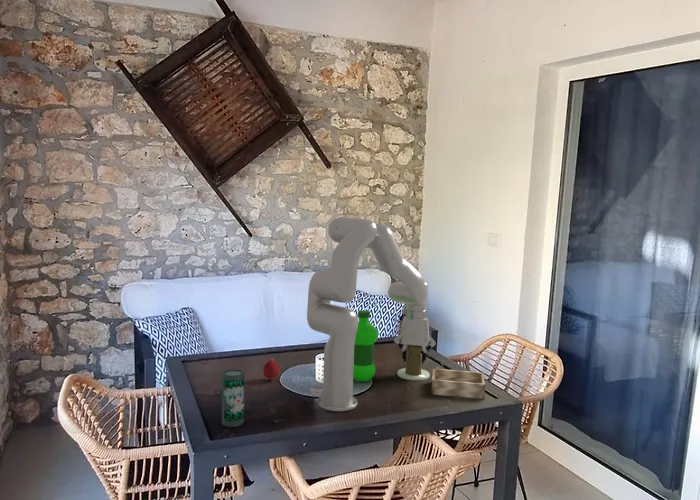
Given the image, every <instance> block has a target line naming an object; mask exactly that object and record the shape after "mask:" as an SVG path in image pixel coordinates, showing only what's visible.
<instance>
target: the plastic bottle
mask: <svg viewBox="0 0 700 500" xmlns="http://www.w3.org/2000/svg"><path fill="white" fill-rule="evenodd" d="M357 317H358V329H357V333H356V338H355V345H354V371H353V380H354V379H355V380H358V381H367V382H369V380H371V379H372V378H373V376H375V374H376V369H377V368H376V365H375V362H374V355H375V354H374V352H375V350H374V349H375V343H376V342H377V340H378V338H379V331H378V329H377V328H376V327H375V326H374V325H373V324H372V323H371V322H370V321H369V318H371V311H369V310H366V309H365V310H364V309H362V310H358V311H357ZM355 380H354V381H355ZM358 381H357V382H358Z"/></svg>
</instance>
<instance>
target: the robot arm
mask: <svg viewBox="0 0 700 500" xmlns="http://www.w3.org/2000/svg"><path fill="white" fill-rule="evenodd" d="M327 230H328V236H329V238H330V239H331V240H332V241H333V242H334V243H337V245H336V246H335V248H334V250H333V251H332V254H331V258H330V259H331V261H330V267H329V268H330V269H326V268H325V269H319V270H317V271H316V272H314V273H313V275H312V276H311V278H310V281H309V284H308V290H307V291H308V294H307V307H306V308H307V310H306V320H307V325H308V326H309V328H310V329H311V330H313V331H314V332H319V333H321V334H325V335H328V336H329V339H328V340H327V342H326V344H325V345H324V350H323V374H322V375H323V376H322V377H323V378H322V382H323V383H322V388H319V389H317V388H310V389H309V395H311V397H312V398H318V399H317V405H318V406H319V407H320V408H322V409H323V410H326V411H330V412H347V411H348V412H349V411H351V410H354V409H355V408H357V406H358V399H357V398H356V397H355V396H353V395H354V393H353V392H354V378H353V371H354V345H355V338H356V333H357V329H358V322H359V317H358V314H357V313H356V312H355V311H354V310H352V309H351V308H348V307H345V306H341V305H337V304H331V302H337V303H343V304H347V303H348V304H349V303H351V302H352V301H353V300H354V299H355V296H356V291H357V283H358V282H357V281H358V269H359V268H358V267H359V261H360V258H361V255H362V254H363V252H364V250H365V249H367V248H368V249H370V250H371V251H372V253H373V255H374V257H375V260H376V261H377V264H378V266H379V268H380V270H381V271H383V273H386V274H387V275H389V276H391V277H392V278H394V279H396V280H399V281H395V282H393V283H392V284H390V286H389V287H388V291H387V292H388V293H387V294H388V297H389V299H390V300H392V301H393V302H395V303H398V304H399V303H400V304H405V306H406V307H405V309H402V310H401V314H403V315H405V316H404V317H403V318H402V324H401V333H400V334H398V335H397V336H396V337H395V338H394V340H393V342H394V343H395V344H396V345H397V346H398V348H399V349H400V350H401V351H402V354H401V356H402V358H401V359H402V360H403V363H407V358H408V357H407V356H408V355H407V354H408V349H407V348H408V346H409V345H413V346H421V347H422V351H421V352H422V353H421V364H424V363H425V362H426V361H427V353H428V352H429V351H430V350H432V348H434V347H435V346H436V345H437V343H436V341H435V339H433V337H432V336H431V335H430V323H429V318H428V317H427V311H428V310H427V308H428V296H429V295H428V288H429V285H428V282H426V281H425V280H424V278H423V277H422V275H421V273H420V272H419V271H418V270H417V269H416V268H415V267H414V266H413V265H412V264H411V263H409V261H407V260H406V259H405V258H404V257H403V256H402V253H401V250H400V248H399V246H398V244H397V241H396V239H395V236H394V234H393V231H392V229H391V228H390V227H389V226H387V225H385V224H382V223H375V222H374V221H372V220H369V219H366V218H359V217H358V218H357V217H343V216H341V217H340V216H339V217H335V218H334V219H332V220H331V221H330V223H329V226H328V229H327ZM429 343H430V344H429Z"/></svg>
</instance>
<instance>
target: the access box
mask: <svg viewBox="0 0 700 500" xmlns="http://www.w3.org/2000/svg"><path fill="white" fill-rule="evenodd" d="M431 376H432V377H431V391H430V392H431V395H435V396H436V395H437V396H446V397H447V396H448V397H458V398H469V399H479V400H480V399H481V400H484V399H485V398H486V397H485V395H486V382H485V381H486V380H485V376H484V372H481V371H479V372H478V371H469V370H456V369H443V368H432V375H431Z"/></svg>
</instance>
